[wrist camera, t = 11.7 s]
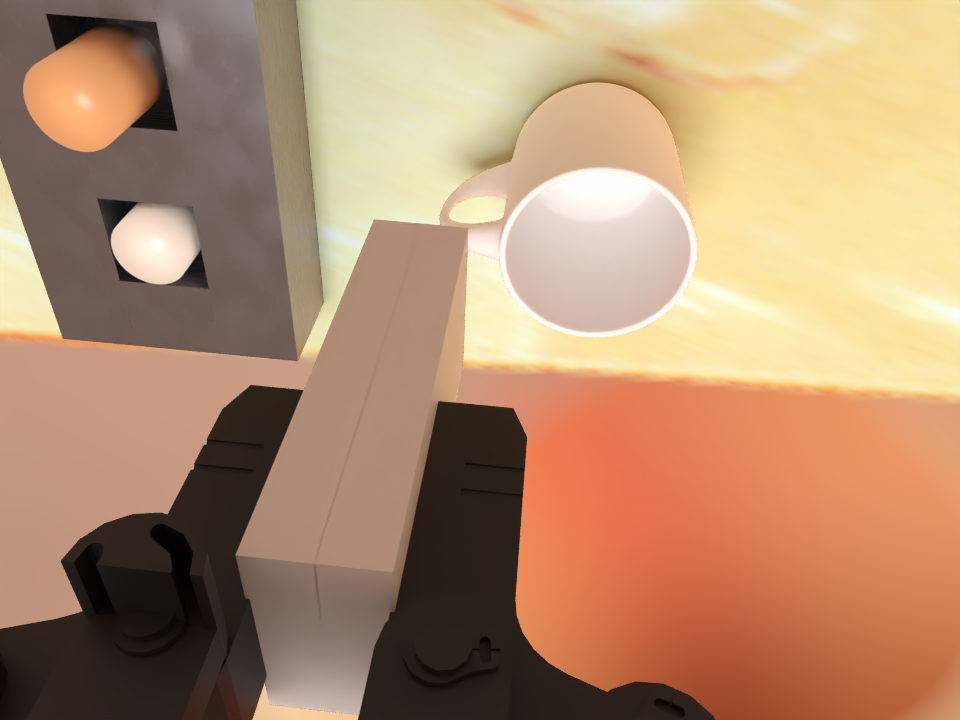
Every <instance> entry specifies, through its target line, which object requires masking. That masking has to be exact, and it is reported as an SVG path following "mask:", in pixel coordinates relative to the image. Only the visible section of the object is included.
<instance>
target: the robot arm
mask: <svg viewBox="0 0 960 720" xmlns="http://www.w3.org/2000/svg"><path fill="white" fill-rule="evenodd" d="M467 254H468V228H465V227H454V226H442V225H430V224H419V223H407V222H396V221H384V220H374V221H373V224H372V226H371V228H370V231H369V233H368V236H367V238H366V240H365V243H364V245H363V248H362V250H361V253H360V255H359V257H358V260H357V262H356V265H355V267H354V270H353V272H352V274H351V277H350V279H349V282H348V284H347V286H346V289H345V291H344V294H343V296H342V299H341V301H340V303H339V306H338V308H337V311H336V313H335V316H334V318H333V320H332V323H331V325H330V328H329V330H328V332H327V335H326V337H325V340H324V342H323V345H322V347H321V349H320V352H319V354H318V357H317V359H316V362H315V364H314V366H313V369H312V371H311V374H310V376H309V379H308V381H307V384H306V386H305V388H304V390H297V389H286V388H276V387H265V386H255V385H250V386H249V387H248V388H247V389H246V390H245V391H243V392H242V393H241V394H240V395H239V396H237V397H236V398H235V399H234V400H233V401H232V402H231V403H230V404H228V405H227V406H226V407H224V408H223V409H222V411H221V413H220V415H219V417H218V419H217V421H216V423H215V424H214V427H213V428H212V430H211V432H210V434H209V436H208V438H207V444H206V445H204V446H203V448H202V449H201V451H200V453H199V455H198V457H197V459H196V461H195V463H194V469H193V470H191V471H190V473H189V474H188V476H187V478H186V480H185V482H184V484H183V486H182V488H181V490H180V492H179V494H178V496H177V498H176V500H175V501H174V503H173V505H172V507H171V509H170V511H169V513H168V515H167V514H164V513H145V514H132V515H129V516H126V517H123V518H119V519H116V520H113V521H111V522H107V523H104V524H103V525H101V526H100V527H98V528H97V529H95V530H93V531H92V532H90V533H89V534H87V535H86V536H84V537H83V538H81V539H80V540H78V542H77V543H76V544H75V545H74V546H73V548H72V549H71V550H70V551H69V552H68V553H67V554H66V555H65V557H64V558H63V559H62V560H61V563H62V565H63V567H64V570H65V572H66V574H67V576H68V579H69V581H70V583H71V585H72V588H73V590H74V592H75V594H76V597H77V599H78V601H79V603H80V606H81V608H82V610H83V611H82V612H80V613H76V614H73V615H69V616H65V617H61V618H58V619H53V620H47V621H42V622H36V623H31V624H26V625H19V626H14V627H9V628H3V629H0V720H252V719H253V716H254V713H255V710H256V707H257V704H258V701H259V697H260V695H261V691H262V689H263V686H264V683H265V686H266V691H267V695H268V699H269V704H270V705H275V706H285V707H292V708H301V709H310V710H318V711H327V712H335V713H344V714H352V715H359V717H358V720H715V718H714V717H713V715H711V714H710V713H709V712H708V711H707V710H706V709H705V708H704V707H702V706H701V705H700V704H699V703H698V702H697V701H696V700H695V699H693V698H692V697H691V696H689V695H688V694H685V693H683V692H681V691H678V690H676V689H674V688H672V687H669V686H667V685H665V684H660V683H647V682H633V683H630V684H626V685H623V686H620V687H617V688H614V689H611V690H610V691H609V692H606V691H604V690H601V689H599V688H597V687H595V686H592V685H590V684H588V683H586V682H584V681H581V680H579V679H577V678H575V677H573V676H570V675H568V674H566V673H564V672H563V671H561V670H559V669H558V668H556V667H554V666H552V665H551V664H549V663H548V662H547V661H546V660H545V659H544V658H543V657H541V656H540V655H539V654H538V653H537V652H536V651H535V650H534V649H533V648H532V646H531V645H530V643H529V642H528V640H527V639H526V637H525V636H524V634H523V633H522V630H521V627H520V624H519V621H518V619H517V615H516V602H515V596H516V582H517V568H518V555H519V541H520V527H521V513H522V497H523V486H524V471H525V458H526V445H527V436H526V434H525V432H524V430H523V428H522V425H521V423H520V421H519V419H518V417H517V415H516V413H515V411H514V409H513V408H506V407H505V408H504V407H495V406H484V405H474V404H464V403H456V400H457V394H458V389H459V383H460V378H461V372H462V367H463V354H464V329H465V304H466V279H467Z"/></svg>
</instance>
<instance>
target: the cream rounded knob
mask: <svg viewBox="0 0 960 720" xmlns="http://www.w3.org/2000/svg"><path fill="white" fill-rule="evenodd" d="M111 246H112V250H113V253H114V255H115V257H116V259H117V260H118V262H119V263H120V264H121V266H122V267H123V268H124V269H125V270H127V271H128V272H129V273H130V274H132V275H133V276H135V277H136V278H138V279H140V280H143V281H145V282H148V283H152V284H169V283H172V282H175V281H176V280H178V279H179V278H181V277H182V275H183V274H184V273H185V271H186V270H187V269H188V267H189V266H190V264H191V263H192V262H193V260H194V259H195V257H196V256H197V255H198V253H199V252H200V251H201V247H200V242H199V237H198V232H197V226H196V221H195V216H194V211H193V207H190V206H179V205H167V204H156V203H144V202H138V203H137V204H136V205H135V206H134V207H133V208H132V209H131V210H130V212H129V213H128V214H127V215H126V216H125V217H124V218H123V219H122V220H121V221H120V222H119V224H118V225H117V226H116V227H115V228H114V230H113V232H112V235H111Z"/></svg>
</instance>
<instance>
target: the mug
mask: <svg viewBox="0 0 960 720" xmlns="http://www.w3.org/2000/svg"><path fill="white" fill-rule="evenodd" d="M481 196H491V197H500V198H505V199H506V206H505V212H504V217H503V218H502V219H500V220H496V221H491V222H485V223H475V224H466V223H459V222H455V221H453V220H451V219H450V217H449V212H450V210H451V209H452V208H453V207H454V206H455V205H456V204H458V203H460V202H462V201H464V200H467V199H470V198H473V197H481ZM439 220H440V225H442V226H454V227H465V228H468V251H470V252H473V253H476V254H478V255H482V256H485V257H488V258H492V259H495V260H498V261H499V264H500V269H501V274H502V277H503V280H504V283H505V285H506V287H507V289H508V291H509V293H510V294H511V296H512V297H513V298H514V300H515V301H516V303H517V304H518V305H519V306H520V307H521V308H522V309H523V310H524V311H525V312H526V313H527V314H529V315H530V316H531V317H532V318H534V319H535V320H537V321H538V322H540V323H541V324H543V325H545V326H547V327H549V328H551V329H554V330H556V331H559V332H562V333H566V334H570V335H574V336H581V337H609V336H616V335H621V334H625V333H628V332H631V331H635V330H637V329H639V328H642V327H644V326H646V325H648V324H650V323H651V322H653V321H655V320H656V319H658V318H659V317H661V316H662V315H663V314H665V313H666V312H667V311H668V310H669V309H670V308H671V307H672V306H673V305H674V304H675V303H676V302H677V301H678V300H679V298H680V297H681V296H682V294H683V293H684V291H685V290H686V288H687V287H688V285H689V283H690V280H691V278H692V276H693V273H694V269H695V266H696V261H697V253H698V251H697V237H696V232H695V227H694V223H693V219H692V214H691V210H690V205H689V201H688V197H687V192H686V188H685V184H684V179H683V175H682V171H681V166H680V162H679V157H678V153H677V149H676V145H675V141H674V138H673V135H672V132H671V130H670V128H669V126H668V124H667V122H666V120H665V118H664V117H663V116H662V114H661V113H660V112H659V110H658V109H657V108H656V107H655V106H654V105H653V104H652V103H651V102H650V101H649V100H647V99H646V98H645V97H643V96H642V95H640V94H639V93H637V92H635V91H633V90H631V89H628V88H626V87H623V86H620V85H616V84H610V83H585V84H579V85H576V86H572V87H569V88H567V89H564V90H562V91H559V92H558V93H556V94H554V95H553V96H551V97H549V98H548V99H547V100H545V101H544V102H543V103H542V104H541V105H540V106H539V107H538V108H537V109H536V110H535V111H534V112H533V113H532V114H531V116H530V117H529V118H528V120H527V121H526V123H525V124H524V126H523V128H522V130H521V132H520V135H519V137H518V140H517V143H516V147H515V151H514V154H513V158H512V160H511V161H510V162H507V163H505V164H502V165H499V166H496V167H493V168H490V169H488V170H486V171H483V172H481V173H479V174H477V175H476V176H474V177H472V178H470V179H469V180H467V181H466V182H464V183H463V184H462V185H460V186H459V187H458V188H457V189H456V190H455V191H454V192H453V193H452V194H451V195H450V197H449V198H448V199H447V201H446V202H445V204H444V206H443V208H442V210H441V213H440V218H439Z"/></svg>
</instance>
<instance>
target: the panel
mask: <svg viewBox="0 0 960 720" xmlns="http://www.w3.org/2000/svg"><path fill="white" fill-rule="evenodd" d="M105 23H117V24H122V25H125V26H128V27H130V28H132V29H134V30H136V31H138V32H139V33H140V34H142V35H143V36H144V37H145V38H147V39H148V40H149V41H150V42H151V43H152V45H153V46H154V47H155V49H156V50H157V52H158V53H159V55H160V57H161V59H162V61H163V64H164V67H165V71H166V87H165V90H164V93H163V95H162V96H161V98H160V99H159V100H158V101H157V102H156V103H155V104H154V105H153V106H152V107H151V108H150V109H148V110H147V111H146V112H145V113H144V114H143V115H142V116H141V117H140V118H138V119H137V120H136V121H135V122H134V123H133V124H132V125H131V126H130V127H128V128H127V129H126V130H125V131H124V132H123V133H122V134H121V135H119V136H118V137H117V138H116V139H115V140H114V141H113V142H112V143H111V144H109V145H108V146H107V147H105V148H103V149H101V150H98V151H94V152H81V151H76V150H72V149H69V148H67V147H65V146H63V145H61V144H59V143H57V142H56V141H54V140H53V139H51V138H50V137H49V136H48V135H46V134H45V133H44V132H43V131H42V130H41V129H40V128H39V127H38V125H37V124H36V123H35V121H34V120H33V118H32V117H31V115H30V113H29V111H28V109H27V106H26V104H25V100H24V94H23V84H24V79H25V77H26V74H27V73H28V71H29V70H30V69H31V67H32V66H34V65H35V64H36V63H38V62H39V61H41V60H43V59H44V58H46V57H47V56H49V55H51V54H52V53H54V52H55V51H57V50H59V49H60V48H62V47H63V46H65V45H67V44H68V43H70V42H71V41H73V40H75V39H76V38H78V37H79V36H81V35H83V34H84V33H86V32H87V31H89V30H91V29H92V28H94V27H96V26H98V25H101V24H105ZM0 159H1V161H2V164H3V167H4V170H5V173H6V176H7V179H8V182H9V184H10V187H11V190H12V193H13V196H14V199H15V202H16V205H17V207H18V210H19V213H20V216H21V219H22V222H23V225H24V228H25V230H26V233H27V236H28V239H29V242H30V245H31V248H32V251H33V253H34V256H35V259H36V262H37V265H38V268H39V271H40V274H41V276H42V279H43V282H44V285H45V288H46V291H47V294H48V297H49V299H50V302H51V305H52V308H53V311H54V314H55V317H56V320H57V322H58V325H59V328H60V331H61V334H62V337H63V339H72V340H83V341H93V342H104V343H114V344H125V345H135V346H145V347H156V348H166V349H177V350H187V351H198V352H208V353H219V354H229V355H240V356H250V357H260V358H271V359H282V360H292V361H298V360H299V357H300V355H301V353H302V350H303V348H304V346H305V344H306V341H307V339H308V337H309V335H310V332H311V330H312V328H313V326H314V323H315V321H316V319H317V316H318V314H319V312H320V310H321V307H322V305H323V292H322V282H321V271H320V260H319V249H318V239H317V228H316V217H315V206H314V195H313V185H312V174H311V163H310V152H309V142H308V131H307V120H306V109H305V99H304V88H303V77H302V66H301V56H300V45H299V34H298V23H297V13H296V2H295V0H0ZM138 202H144V203H156V204H167V205H179V206H190V207H193V211H194V216H195V221H196V226H197V232H198V237H199V242H200V247H201V251H200V252H199V253H198V255H197V256H196V257H195V259H194V260H193V262H192V263H191V264H190V266H189V267H188V269H187V270H186V271H185V273H184V274H183V275H182V277H181V278H179V279H178V280H176V281H175V282H172V283H169V284H152V283H148V282H145V281H143V280H140V279H138V278H136V277H135V276H133V275H132V274H130V273H129V272H128V271H127V270H125V269H124V268H123V267H122V266H121V264H120V263H119V262H118V260H117V259H116V257H115V255H114V253H113V250H112V246H111V235H112V232H113V230H114V228H115V227H116V226H117V225H118V224H119V222H120V221H121V220H122V219H123V218H124V217H125V216H126V215H127V214H128V213H129V212H130V210H131V209H132V208H133V207H134V206H135V205H136V204H137V203H138Z"/></svg>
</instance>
